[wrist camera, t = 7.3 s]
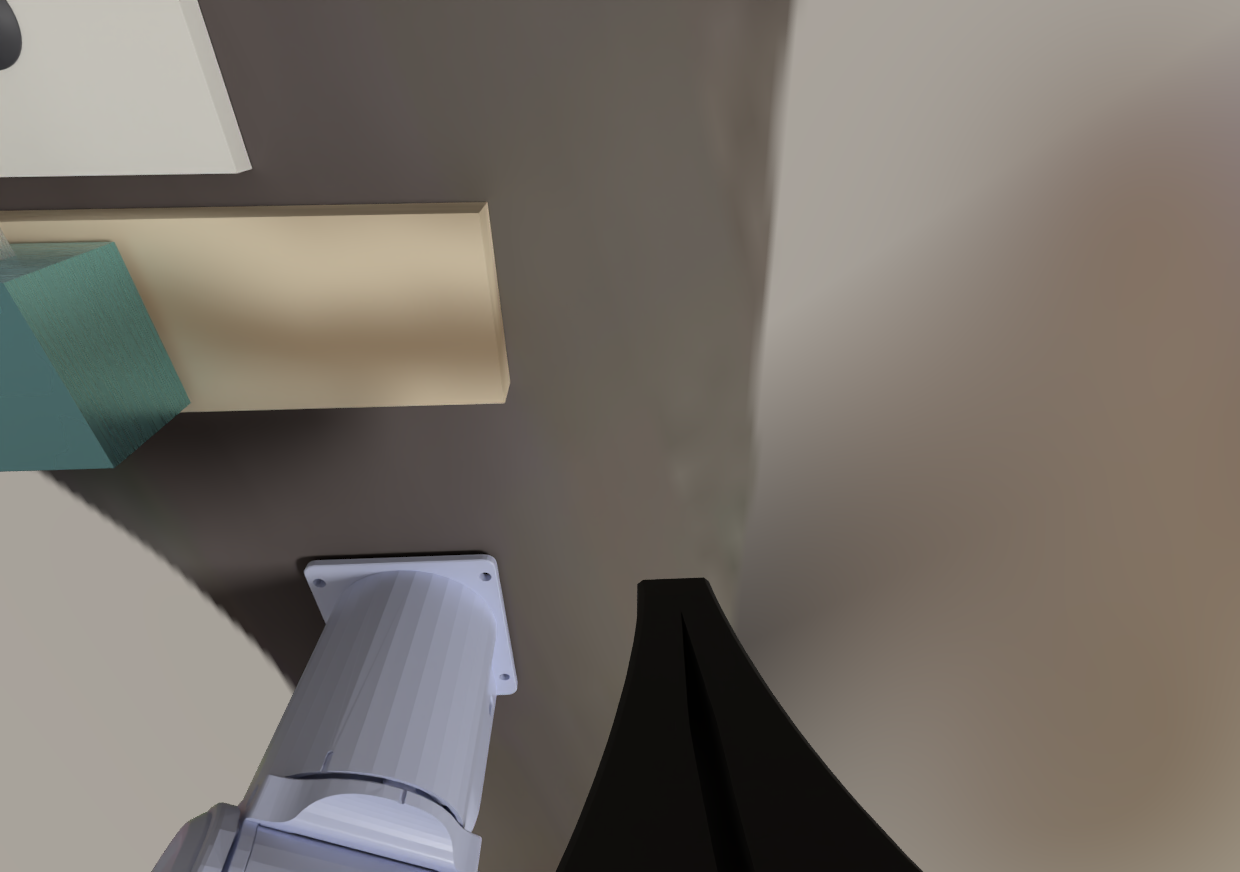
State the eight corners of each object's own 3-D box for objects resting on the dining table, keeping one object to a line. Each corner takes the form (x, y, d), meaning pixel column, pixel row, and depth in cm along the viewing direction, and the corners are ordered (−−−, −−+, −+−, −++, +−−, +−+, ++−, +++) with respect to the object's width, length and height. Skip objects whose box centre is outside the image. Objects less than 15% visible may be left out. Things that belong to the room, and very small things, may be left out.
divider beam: (510, 382, 20) (489, 464, 16) (-198, 401, 20) (-413, 493, 15) (460, -8, 14) (407, -38, 10) (-559, -1, 14) (-1067, -30, 9)
